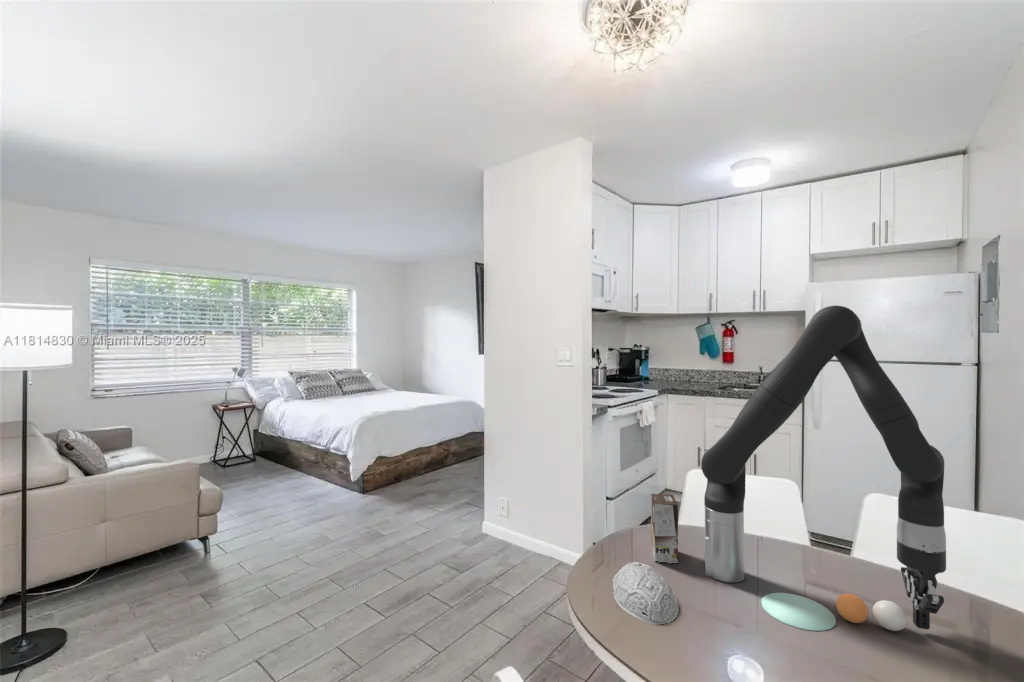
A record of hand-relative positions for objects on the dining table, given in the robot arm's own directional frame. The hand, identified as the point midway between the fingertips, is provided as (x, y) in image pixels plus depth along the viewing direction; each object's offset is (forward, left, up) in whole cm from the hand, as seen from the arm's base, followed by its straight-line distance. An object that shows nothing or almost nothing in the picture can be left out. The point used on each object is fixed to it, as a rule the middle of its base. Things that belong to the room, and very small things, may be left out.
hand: (921, 626), depth 93 cm
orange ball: (-12, 0, +1) cm, 12 cm away
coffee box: (-51, +17, -2) cm, 54 cm away
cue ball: (-5, 0, +1) cm, 6 cm away
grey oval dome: (-54, -6, -2) cm, 55 cm away
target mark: (-22, 0, -1) cm, 22 cm away
